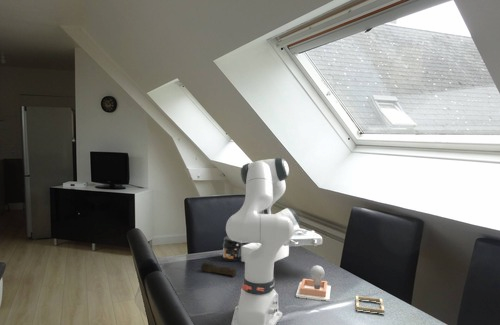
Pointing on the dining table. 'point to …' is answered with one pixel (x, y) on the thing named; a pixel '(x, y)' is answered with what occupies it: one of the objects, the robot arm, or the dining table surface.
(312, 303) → the dining table surface
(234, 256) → the supplement container
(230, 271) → the hand tool
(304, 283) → the socket
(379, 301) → the square wooden frame
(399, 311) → the dining table surface
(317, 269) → the lightbulb
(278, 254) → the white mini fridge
